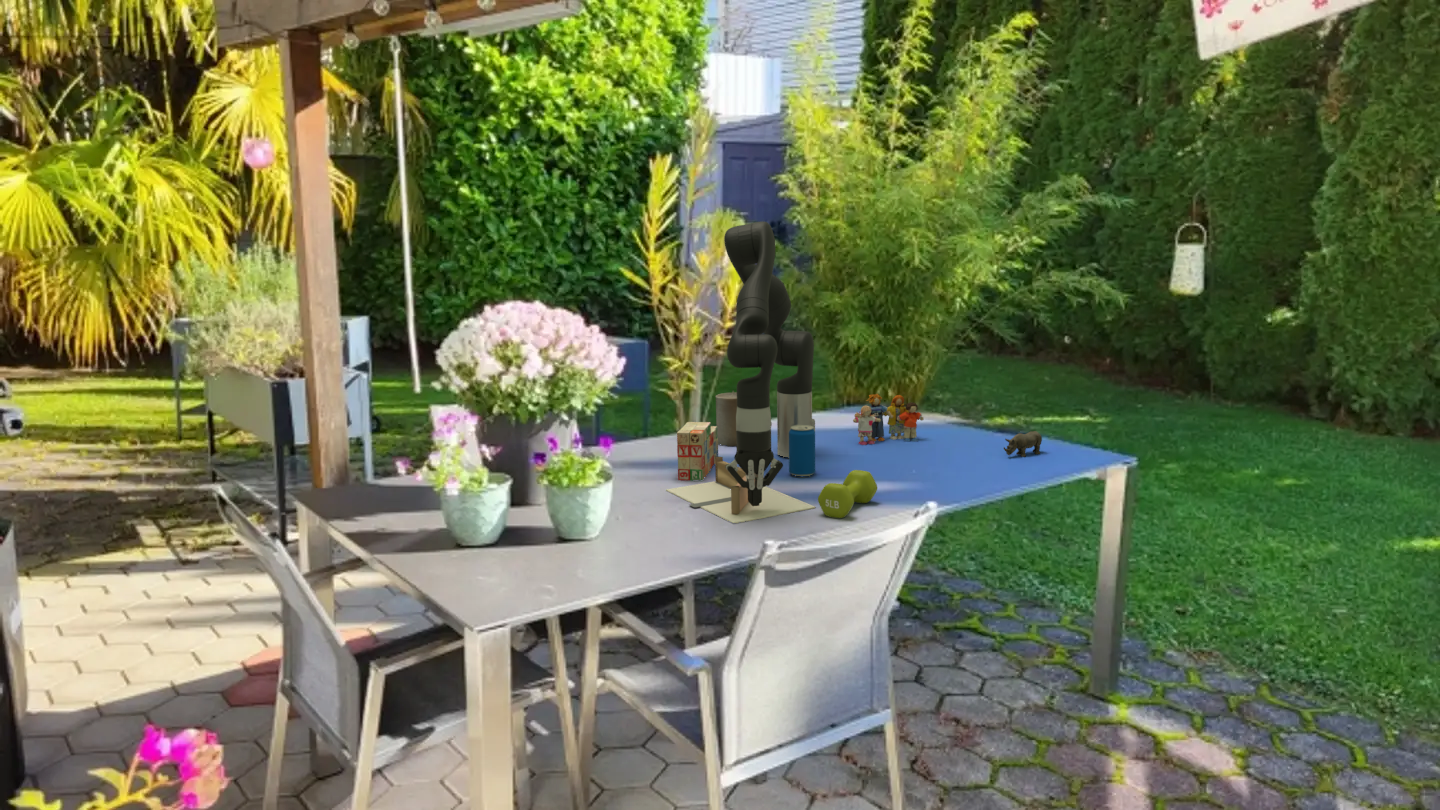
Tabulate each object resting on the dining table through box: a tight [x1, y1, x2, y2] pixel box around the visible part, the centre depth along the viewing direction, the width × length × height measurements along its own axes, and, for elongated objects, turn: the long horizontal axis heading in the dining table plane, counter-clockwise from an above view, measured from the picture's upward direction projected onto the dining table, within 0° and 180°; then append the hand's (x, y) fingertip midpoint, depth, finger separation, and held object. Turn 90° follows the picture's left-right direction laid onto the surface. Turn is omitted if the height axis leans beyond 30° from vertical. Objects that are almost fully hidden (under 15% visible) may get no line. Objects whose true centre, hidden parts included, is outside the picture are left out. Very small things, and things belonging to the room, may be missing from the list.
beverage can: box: [788, 425, 816, 477], centre depth 253 cm, size 6×6×12 cm
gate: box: [731, 476, 748, 514], centre depth 227 cm, size 2×14×6 cm, turn 165°
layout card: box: [665, 480, 816, 524], centre depth 234 cm, size 23×31×1 cm
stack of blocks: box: [676, 421, 719, 482], centre depth 260 cm, size 21×6×12 cm, turn 170°
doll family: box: [852, 393, 924, 446], centre depth 290 cm, size 21×10×13 cm, turn 104°
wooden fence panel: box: [714, 456, 755, 488], centre depth 241 cm, size 2×16×6 cm, turn 30°
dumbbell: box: [817, 469, 878, 519], centre depth 225 cm, size 16×8×7 cm, turn 148°
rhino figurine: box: [1003, 430, 1043, 458], centre depth 270 cm, size 4×14×6 cm, turn 120°
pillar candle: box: [715, 390, 737, 447], centre depth 289 cm, size 10×10×15 cm
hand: (754, 505), depth 224 cm, fingers closed
